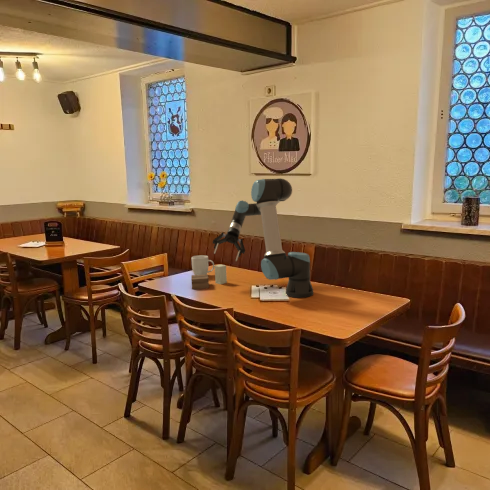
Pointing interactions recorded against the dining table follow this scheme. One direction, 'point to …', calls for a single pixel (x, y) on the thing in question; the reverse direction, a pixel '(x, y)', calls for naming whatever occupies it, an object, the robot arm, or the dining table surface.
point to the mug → (201, 265)
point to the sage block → (220, 274)
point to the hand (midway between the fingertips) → (225, 255)
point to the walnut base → (200, 281)
